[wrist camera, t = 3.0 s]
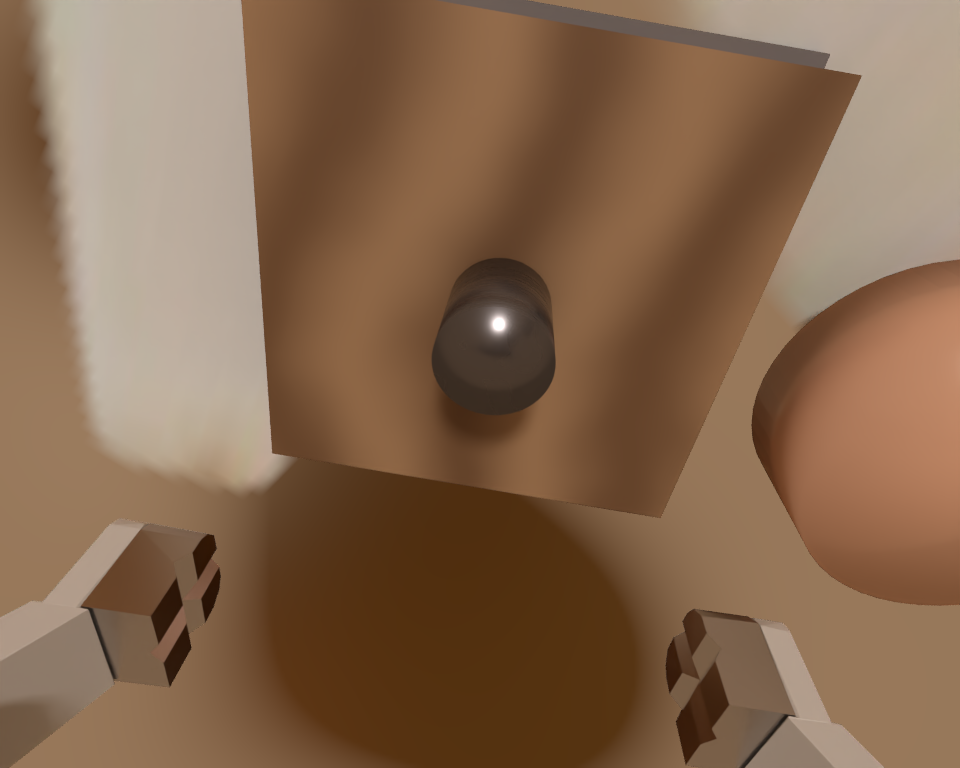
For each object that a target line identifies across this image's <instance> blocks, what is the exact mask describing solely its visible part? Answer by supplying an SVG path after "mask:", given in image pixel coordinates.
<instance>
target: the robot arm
mask: <svg viewBox="0 0 960 768" xmlns="http://www.w3.org/2000/svg"><path fill="white" fill-rule="evenodd" d="M216 549H217V548H216V543H215V538H214V535H210V534H205V533H200V532H194V531H189V530H184V529H178V528H173V527H167V526H162V525H156V524H151V523H145V522H139V521H133V520H127V519H121V518H120V519H118V520H116V521H115V522H113V523H111V524H110V525H108V526H107V528H106V529H105V530H104V531H103V532H102V533H101V535H100V536H99V537H98V538H97V539H96V540H95V542H94V543H93V544H92V545H91V546H90V547H89V548H88V550H87V551H86V552H85V553H84V554H83V555H82V556H81V558H80V559H79V560H78V561H77V562H76V563H75V565H74V566H73V567H72V568H71V569H70V570H69V572H68V573H67V574H66V575H65V576H64V577H63V578H62V580H61V581H60V582H59V583H58V584H57V585H56V587H55V588H54V589H53V590H52V591H51V592H50V594H49V595H48V596H47V597H46V598H45V599H44V600H43V602H41V601H31V602H29V603H27V604H25V605H23V606H21V607H19V608H17V609H15V610H13V611H12V612H10V613H8V614H6V615H4V616H2V617H0V768H9V767H11V766H12V765H13V764H15V763H16V762H17V761H18V760H20V759H21V758H22V757H23V756H25V755H26V754H27V753H29V752H30V751H31V750H32V749H34V748H35V747H36V746H37V745H39V744H40V743H41V742H42V741H44V740H45V739H46V738H47V737H49V736H50V735H51V734H53V733H54V732H55V731H56V730H57V729H59V728H60V727H61V726H63V725H64V724H65V723H66V722H68V721H69V720H70V719H72V718H73V717H74V716H75V715H76V714H78V713H79V712H80V711H82V710H83V709H84V708H85V707H87V706H88V705H89V704H90V703H92V702H93V701H94V700H95V699H97V698H98V697H99V696H100V695H102V694H103V693H104V692H106V691H107V690H108V689H109V688H111V687H112V686H113V685H114V684H115V682H114V681H121V682H129V683H138V684H145V685H154V686H162V687H170V686H171V684H172V682H173V680H174V679H175V677H176V675H177V673H178V671H179V670H180V668H181V666H182V664H183V663H184V661H185V659H186V657H187V655H188V653H189V652H190V650H191V642H190V637H189V634H190V633H191V632H193V631H194V630H195V629H197V628H199V627H200V626H201V625H203V624H204V623H205V622H206V621H207V619H208V617H209V615H210V613H211V611H212V609H213V607H214V604H215V601H216V598H217V595H218V592H219V588H220V578H221V575H220V568H219V566H218V565H217V564H216V563H215V562H214V561H213V560H212V559H211V558H212V556H213V554H214V552H215V551H216ZM683 625H684V629H685V632H683V633H681V634H679V635H677V636H675V637H673V640H672V642H671V644H670V646H669V648H668V651H667V658H666V679H667V684H668V689H669V693H670V695H671V696H672V698H673V699H674V700H675V701H676V703H677V704H678V705H679V706H680V708H681V709H682V710H681V712H680V714H679V716H678V718H677V720H676V725H677V729H678V734H679V737H680V742H681V746H682V751H683V755H684V759H685V764H686V765H688V766H693V767H699V768H884V767H883V766H882V765H881V764H880V763H879V762H878V761H877V760H876V759H875V758H874V757H873V756H872V755H871V754H870V753H869V752H868V751H867V750H866V749H865V748H864V747H863V746H862V745H861V744H860V743H859V742H858V741H857V740H856V739H855V738H854V737H853V736H852V735H851V734H850V733H849V732H848V731H847V730H846V729H845V728H844V727H843V726H842V725H841V724H837V723H832V722H831V720H830V719H829V716H828V714H827V712H826V709H825V707H824V706H823V703H822V701H821V699H820V696H819V694H818V692H817V690H816V688H815V685H814V683H813V681H812V679H811V677H810V675H809V672H808V670H807V668H806V666H805V664H804V662H803V659H802V657H801V655H800V653H799V651H798V648H797V646H796V644H795V642H794V640H793V637H792V635H791V633H790V631H789V629H788V628H787V627H786V626H785V625H784V624H783V623H781V622H775V621H769V620H762V619H755V618H749V617H747V616H740V615H733V614H726V613H718V612H712V611H704V610H698V609H693V610H691V611H689V612H688V613H687V615H686V616H685V618H684V620H683Z"/></svg>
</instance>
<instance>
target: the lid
mask: <svg viewBox="0 0 960 768" xmlns="http://www.w3.org/2000/svg"><path fill="white" fill-rule="evenodd" d="M241 1H242V15H243V30H244V45H245V59H246V74H247V89H248V103H249V118H250V132H251V147H252V162H253V176H254V191H255V206H256V220H257V235H258V250H259V264H260V279H261V293H262V308H263V323H264V337H265V352H266V367H267V381H268V396H269V411H270V425H271V440H272V453H274V454H280V455H286V456H292V457H298V458H304V459H310V460H316V461H322V462H328V463H334V464H340V465H346V466H352V467H358V468H364V469H370V470H376V471H382V472H388V473H394V474H400V475H406V476H412V477H418V478H424V479H430V480H436V481H442V482H448V483H454V484H460V485H466V486H472V487H478V488H484V489H490V490H495V491H501V492H507V493H514V494H519V495H526V496H531V497H538V498H543V499H549V500H556V501H562V502H567V503H573V504H579V505H585V506H591V507H597V508H604V509H609V510H616V511H621V512H627V513H633V514H639V515H645V516H652V517H657V518H661V516H662V514H663V512H664V509H665V507H666V505H667V503H668V501H669V498H670V496H671V494H672V492H673V490H674V487H675V485H676V483H677V481H678V479H679V476H680V474H681V472H682V470H683V468H684V465H685V463H686V461H687V459H688V456H689V454H690V452H691V450H692V448H693V445H694V443H695V441H696V439H697V437H698V434H699V432H700V430H701V428H702V426H703V423H704V422H705V419H706V417H707V414H708V413H709V411H710V408H711V406H712V404H713V402H714V400H715V397H716V395H717V393H718V391H719V388H720V386H721V384H722V382H723V380H724V378H725V375H726V373H727V371H728V369H729V367H730V364H731V362H732V360H733V358H734V356H735V353H736V351H737V349H738V347H739V345H740V342H741V340H742V338H743V336H744V333H745V331H746V329H747V327H748V325H749V323H750V320H751V318H752V316H753V314H754V311H755V309H756V307H757V305H758V303H759V300H760V298H761V296H762V294H763V292H764V290H765V287H766V285H767V283H768V281H769V279H770V276H771V274H772V272H773V270H774V268H775V265H776V263H777V261H778V259H779V257H780V254H781V252H782V250H783V248H784V246H785V243H786V241H787V239H788V237H789V235H790V232H791V230H792V228H793V226H794V224H795V222H796V219H797V217H798V215H799V213H800V211H801V208H802V206H803V204H804V202H805V200H806V197H807V195H808V193H809V191H810V189H811V186H812V184H813V182H814V180H815V178H816V175H817V173H818V171H819V169H820V167H821V164H822V162H823V160H824V158H825V156H826V153H827V151H828V149H829V147H830V145H831V142H832V140H833V138H834V136H835V134H836V131H837V129H838V127H839V125H840V123H841V120H842V118H843V116H844V114H845V112H846V109H847V107H848V105H849V103H850V101H851V98H852V96H853V94H854V92H855V90H856V87H857V85H858V83H859V81H860V79H861V75H856V74H850V73H844V72H839V71H833V70H827V69H822V68H816V67H810V66H805V65H799V64H793V63H788V62H782V61H777V60H771V59H765V58H760V57H754V56H748V55H743V54H737V53H731V52H726V51H720V50H714V49H709V48H703V47H697V46H692V45H686V44H680V43H675V42H669V41H663V40H658V39H652V38H646V37H641V36H635V35H630V34H624V33H618V32H613V31H607V30H601V29H596V28H590V27H584V26H579V25H573V24H567V23H562V22H556V21H550V20H545V19H539V18H533V17H528V16H522V15H516V14H511V13H505V12H499V11H494V10H488V9H483V8H477V7H471V6H466V5H460V4H454V3H449V2H443V1H437V0H241Z"/></svg>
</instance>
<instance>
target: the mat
mask: <svg viewBox="0 0 960 768" xmlns="http://www.w3.org/2000/svg"><path fill="white" fill-rule="evenodd" d="M437 1H443V2H449V3H454V4H460V5H466V6H471V7H477V8H483V9H488V10H494V11H499V12H505V13H511V14H516V15H522V16H528V17H533V18H539V19H545V20H550V21H556V22H562V23H567V24H573V25H579V26H584V27H590V28H596V29H601V30H607V31H613V32H618V33H624V34H630V35H635V36H641V37H646V38H652V39H658V40H663V41H669V42H675V43H680V44H686V45H692V46H697V47H703V48H709V49H714V50H720V51H726V52H731V53H737V54H743V55H748V56H754V57H760V58H765V59H771V60H777V61H782V62H788V63H793V64H799V65H805V66H810V67H816V68H822V69H824V68H825V66H826V63H827V61H828V58H829V56H830V54H827V53H821V52H816V51H810V50H804V49H799V48H793V47H787V46H782V45H776V44H770V43H765V42H759V41H754V40H748V39H742V38H737V37H731V36H725V35H720V34H714V33H708V32H703V31H697V30H691V29H686V28H680V27H675V26H669V25H663V24H658V23H652V22H646V21H640V20H635V19H629V18H623V17H618V16H612V15H607V14H601V13H595V12H590V11H584V10H579V9H573V8H567V7H562V6H556V5H550V4H544V3H539V2H533V1H528V0H437Z"/></svg>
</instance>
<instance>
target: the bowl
mask: <svg viewBox="0 0 960 768" xmlns="http://www.w3.org/2000/svg"><path fill="white" fill-rule="evenodd" d="M752 436H753V442H754V446H755V449H756V453H757V455H758V457H759V459H760V461H761V463H762V465H763V467H764V468H765V471H766V473H767V474H768V476H769V478H770V480H771V482H772V484H773V486H774V487H775V489H776V491H777V493H778V495H779V497H780V499H781V500H782V502H783V504H784V506H785V508H786V510H787V512H788V513H789V515H790V517H791V519H792V521H793V523H794V525H795V527H796V528H797V530H798V532H799V534H800V536H801V538H802V539H803V541H804V543H805V545H806V547H807V549H808V551H809V552H810V554H811V555H812V557H813V558H814V559H815V561H816V562H817V563H818V565H819V566H820V567H821V568H822V569H823V570H825V571H826V572H827V573H828V574H829V575H830V576H831V577H833V578H834V579H836V580H837V581H839V582H841V583H842V584H844V585H846V586H848V587H850V588H852V589H854V590H857V591H858V592H861V593H864V594H867V595H870V596H873V597H876V598H879V599H884V600H889V601H893V602H900V603H908V604H917V605H960V260H953V261H945V262H937V263H932V264H927V265H923V266H919V267H915V268H910V269H907V270H904V271H901V272H898V273H895V274H892V275H889V276H886V277H884V278H881V279H879V280H877V281H875V282H873V283H870V284H868V285H866V286H864V287H861V288H859V289H858V290H856V291H854V292H852V293H851V294H849V295H847V296H845V297H844V298H842V299H840V300H838V301H837V302H835V303H834V304H833V305H831V306H830V307H828V308H827V309H825V310H824V311H823V312H821V313H820V314H818V315H817V316H816V317H815V318H814V319H813V320H811V321H810V322H809V323H808V324H807V325H805V326H804V327H803V328H802V329H801V330H800V331H799V332H798V333H797V334H796V335H795V336H794V337H793V338H792V339H791V340H790V341H789V342H788V343H787V345H786V346H785V347H784V348H783V350H782V351H781V352H780V354H779V355H778V356H777V357H776V359H775V360H774V362H773V363H772V365H771V367H770V368H769V370H768V372H767V374H766V375H765V377H764V379H763V381H762V383H761V386H760V388H759V391H758V393H757V396H756V400H755V404H754V408H753V415H752Z"/></svg>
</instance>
